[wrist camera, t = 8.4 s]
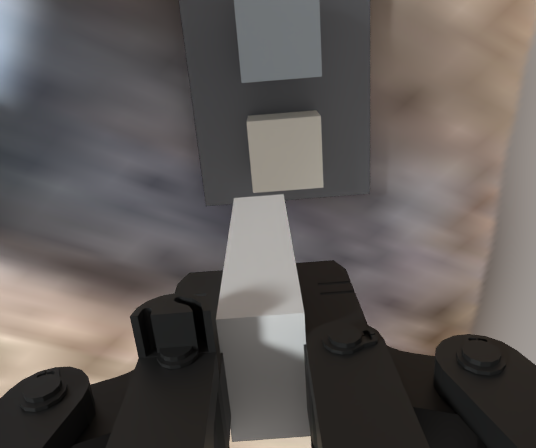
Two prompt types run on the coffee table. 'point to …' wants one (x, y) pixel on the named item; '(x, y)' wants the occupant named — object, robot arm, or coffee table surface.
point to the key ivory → (285, 151)
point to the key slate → (278, 39)
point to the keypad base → (279, 99)
